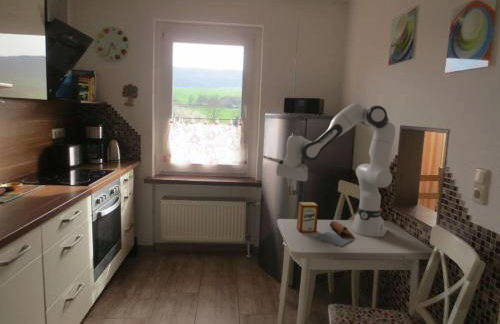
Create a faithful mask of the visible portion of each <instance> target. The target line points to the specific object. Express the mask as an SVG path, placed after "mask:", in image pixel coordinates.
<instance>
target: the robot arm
mask: <svg viewBox="0 0 500 324" xmlns="http://www.w3.org/2000/svg"><path fill="white" fill-rule="evenodd" d="M359 123H361V124H363V125H364V126H367V127H371V128H372V129H373V135H372V138H371V142H370V146H369V150H368V155H369V158H370V159H369V160H370V162H369V163H362V164H359V165H357V168H356V169H355V175H356V177H357V179H358V184H359V192H360V194H359V203H358V204H359V205H358V208H357V214H355V216H354V220H353V225H351V226H350V228H351V230H353V232H355V233H356V234H358V235H361V236H365V237H379V238H383V237H384V236H385V235H386V233H387V232H388V228H387V227H384V223H385V221H384V219H383V218H382V216H381V213H382V212H383V209H382V208H381V200H382V195H381V193H380V191H379V188H383V189H384V188H387V187H388V186H390V185H391V183H392V181H393V176H392V173H391V169H390V157H391V156H390V155H391V152H392V148H393V145H394V141H395V136H396V126H395V125H394V123H393V122H391V121H389V117H388V112H387V110H386V109H385V107H383V106H381V105H372V106H369V107H367V108H364V107H363V106H362V105H361V104H359V103H357V102H353V103H352V104H349V105H348V106H346V107H344V108H343V109H342V110H340V111H339V112H338V113H337V114H336V115H334V117H333V118H332V119H331V121H330V123H329V126H328V128H327V129H326V130H325V132H324V133H322V134H321V135H320V136H318V138H317V139H316V140H313V141H311V140H309V139H307V138H305V137H304V136H303V135H301V134H292V135H290V136H288V137H287V141H286V148H285V150H286V154H285V157H284V158H283V159H279V160H278V161H277V165H276V170H275V171H276V176H278V177H281V178H285V179H286V181H287V186H288V187H294V186H295V185H294V184H295V183H296V181H301V182H307V181H308V173H309V170H308V169H309V168H308V166H307V165H306V164H302V163H301V162H302V158H303V159H304V160H306V161H307V162H314V161H317V160H318V159H319V157H320V156H321V154H322V152H323V151H324V150H325V148H326V147H328V146H329V145H330V144H331V143H333V141H335V139H337V138H339V137H340V136H342V135H344V134H345V133H347V132H349V131H350V130H351V129H352V128H353V127H355V126H356V125H357V124H359Z"/></svg>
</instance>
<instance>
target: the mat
mask: <svg viewBox="0 0 500 324" xmlns="http://www.w3.org/2000/svg"><path fill="white" fill-rule="evenodd" d="M314 239H317V240H319V241H323V242H324V243H328V244H331V245H334V246H337V247H340V248H342V247H344V246H347V244H349V243H352V242H353V241H354V239H353V238H344V237H341V235H339V234H338V233H334V232H331V231H326V232H323V233H321V234H318V235H317V236H314Z"/></svg>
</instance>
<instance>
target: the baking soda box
mask: <svg viewBox="0 0 500 324" xmlns="http://www.w3.org/2000/svg"><path fill="white" fill-rule="evenodd" d="M297 206H298V207H297V215H296V216H297V218H296V229H297V231H298V233H302V234H304V233H306V234H307V233H313V234H316V233H317V228H318V216H319V205H318V204H317V203H316V202H312V201H309V202H308V201H305V202H304V201H299V202H298V204H297Z"/></svg>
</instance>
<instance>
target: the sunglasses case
mask: <svg viewBox="0 0 500 324" xmlns="http://www.w3.org/2000/svg"><path fill="white" fill-rule="evenodd" d="M329 226H330V227H331V228H332V229H333V230H334V231H336V233H337V234H338V235H340V236H341V237H344V238H349V239H353V238H355V236H354V234H353V233H352V232H351V231H350V230H348V227H346V226H345V225H343V224H342V223H340V222H337V221H334V220H333V221H331V222H330V223H329Z"/></svg>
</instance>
